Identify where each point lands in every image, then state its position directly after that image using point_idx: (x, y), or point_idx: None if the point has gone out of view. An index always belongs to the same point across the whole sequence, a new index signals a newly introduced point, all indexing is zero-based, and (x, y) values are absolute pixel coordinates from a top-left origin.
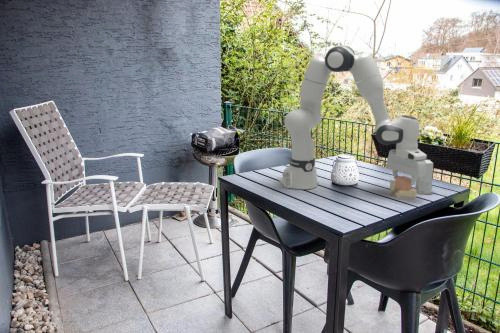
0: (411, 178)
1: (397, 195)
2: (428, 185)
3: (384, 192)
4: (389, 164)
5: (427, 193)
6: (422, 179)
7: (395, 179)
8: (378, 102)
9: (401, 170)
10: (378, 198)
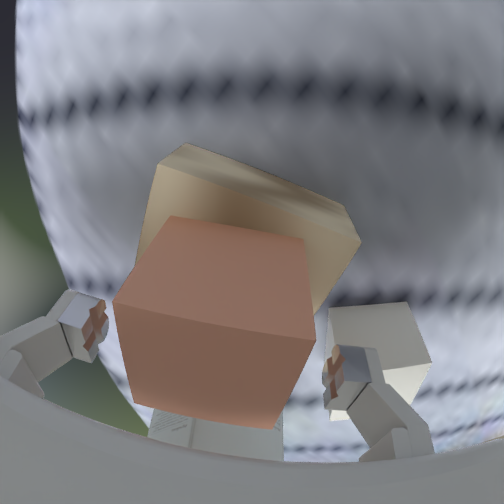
0: (138, 400)
1: (225, 164)
2: (161, 414)
3: (401, 204)
4: (498, 496)
5: None
6: (175, 442)
7: (312, 310)
8: None
9: (191, 485)
10: (330, 4)
